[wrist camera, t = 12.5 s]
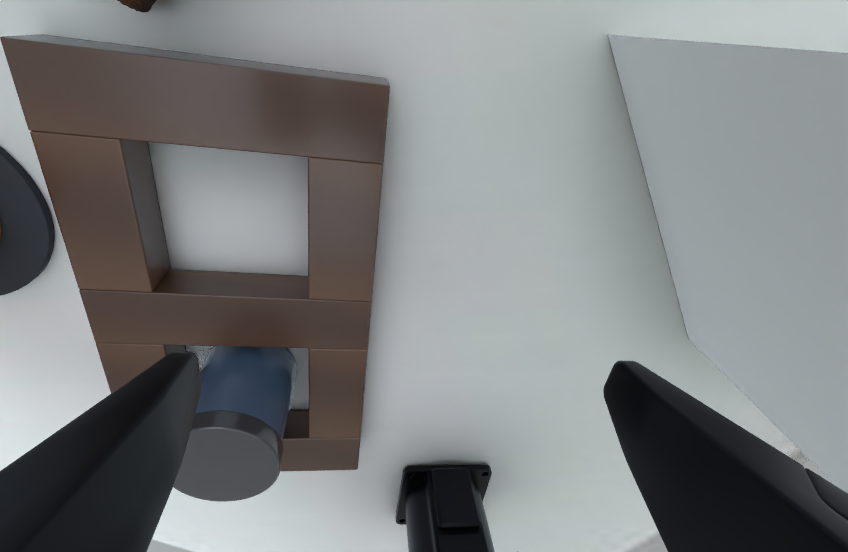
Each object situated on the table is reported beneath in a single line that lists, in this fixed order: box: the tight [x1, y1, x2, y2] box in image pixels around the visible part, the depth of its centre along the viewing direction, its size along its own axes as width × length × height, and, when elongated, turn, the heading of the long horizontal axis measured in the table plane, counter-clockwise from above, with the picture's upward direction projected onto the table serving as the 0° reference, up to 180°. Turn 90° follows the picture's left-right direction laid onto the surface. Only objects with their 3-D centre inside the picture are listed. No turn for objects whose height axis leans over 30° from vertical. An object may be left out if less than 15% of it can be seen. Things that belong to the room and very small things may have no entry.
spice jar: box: [173, 346, 297, 501], centre depth 22 cm, size 5×5×6 cm
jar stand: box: [0, 35, 390, 471], centre depth 22 cm, size 23×13×2 cm, turn 173°
